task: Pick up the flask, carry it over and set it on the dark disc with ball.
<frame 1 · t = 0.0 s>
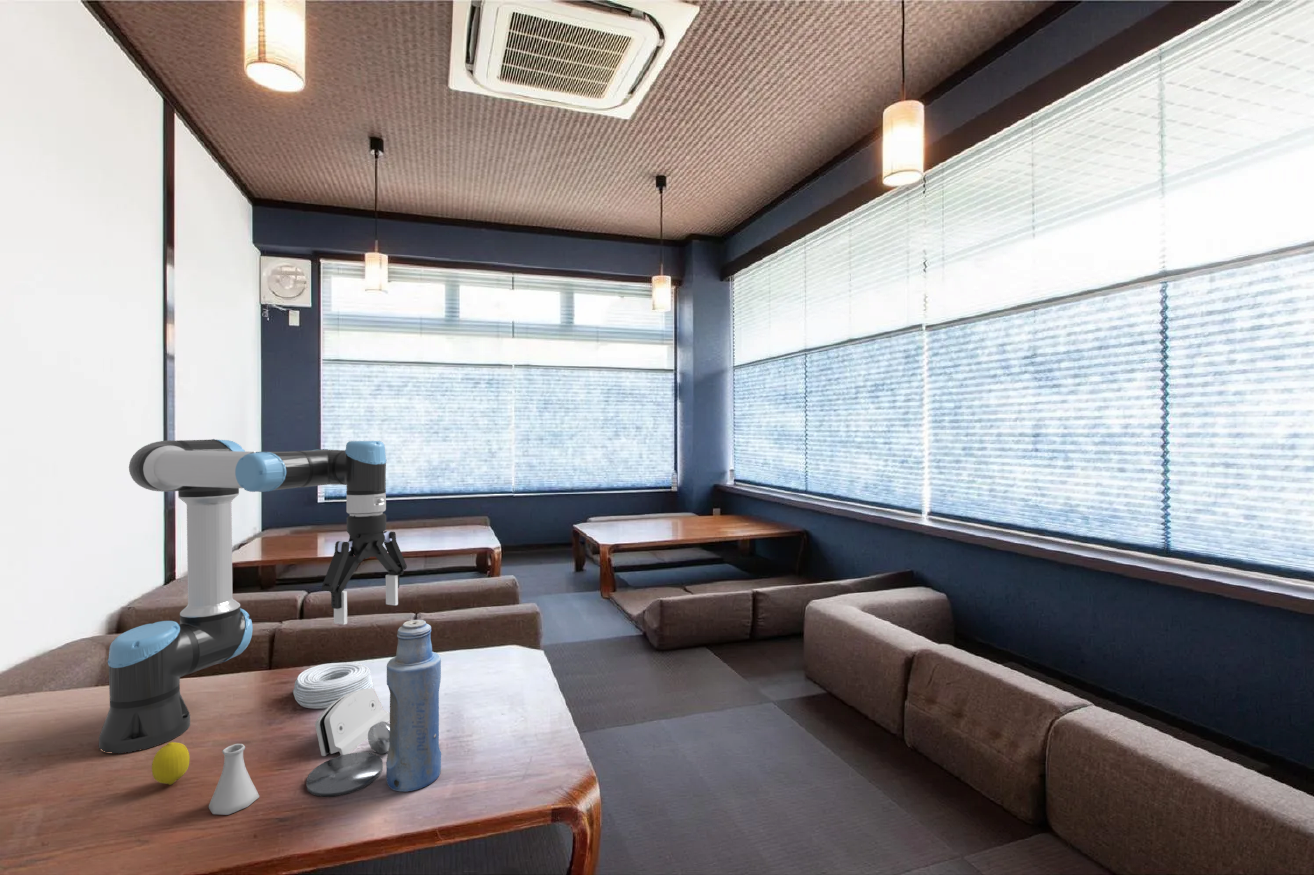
hand: (367, 613, 125), 28 cm above the table, tool pointing down, fingers open, 13 cm apart
flask: (234, 804, 106), on the table
hinge: (353, 737, 129), on the table
cable: (334, 696, 149), on the table
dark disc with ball: (345, 775, 114), on the table
lemon: (171, 785, 111), on the table
bottle: (414, 778, 113), on the table
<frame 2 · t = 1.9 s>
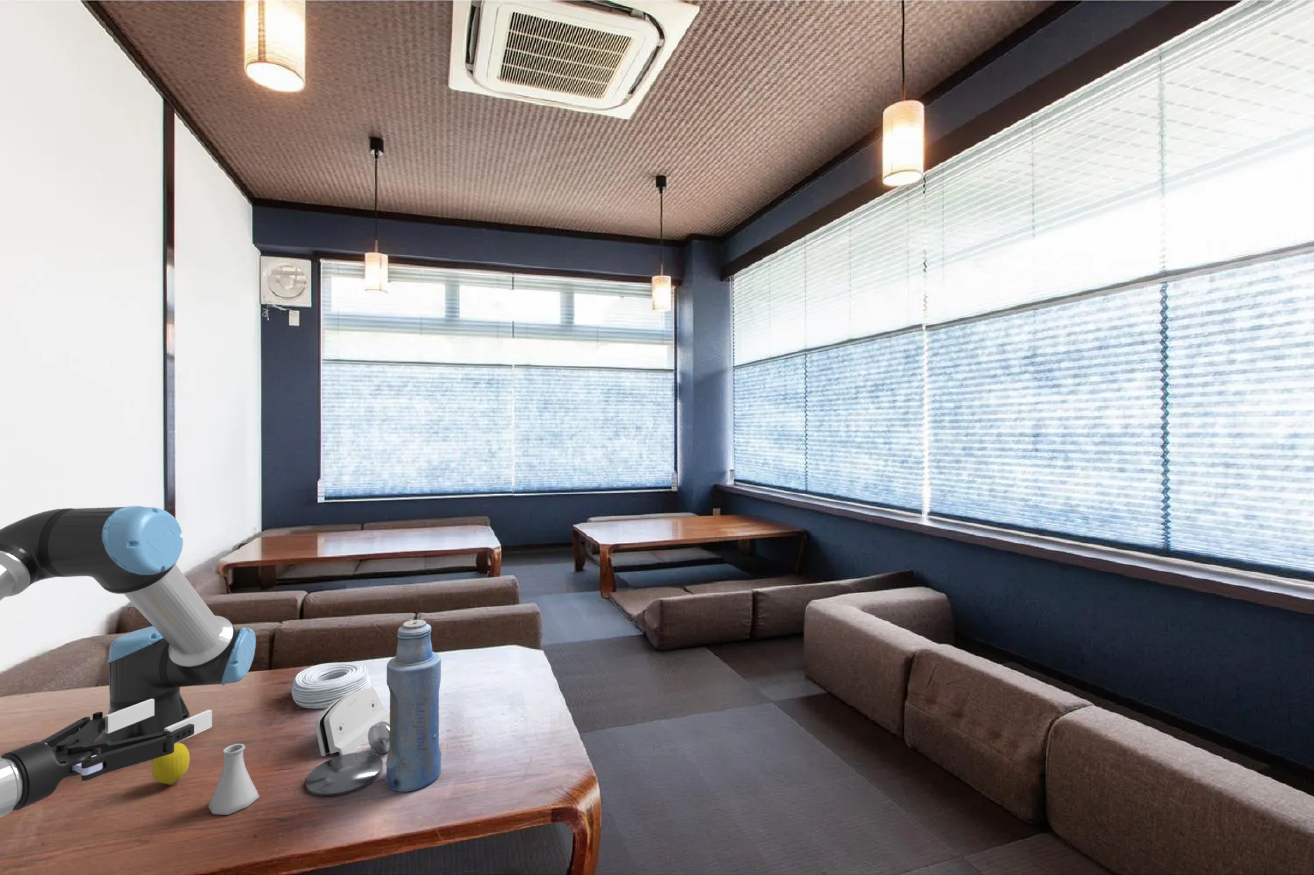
hand: (181, 712, 97), 20 cm above the table, tool horizontal, fingers open, 13 cm apart
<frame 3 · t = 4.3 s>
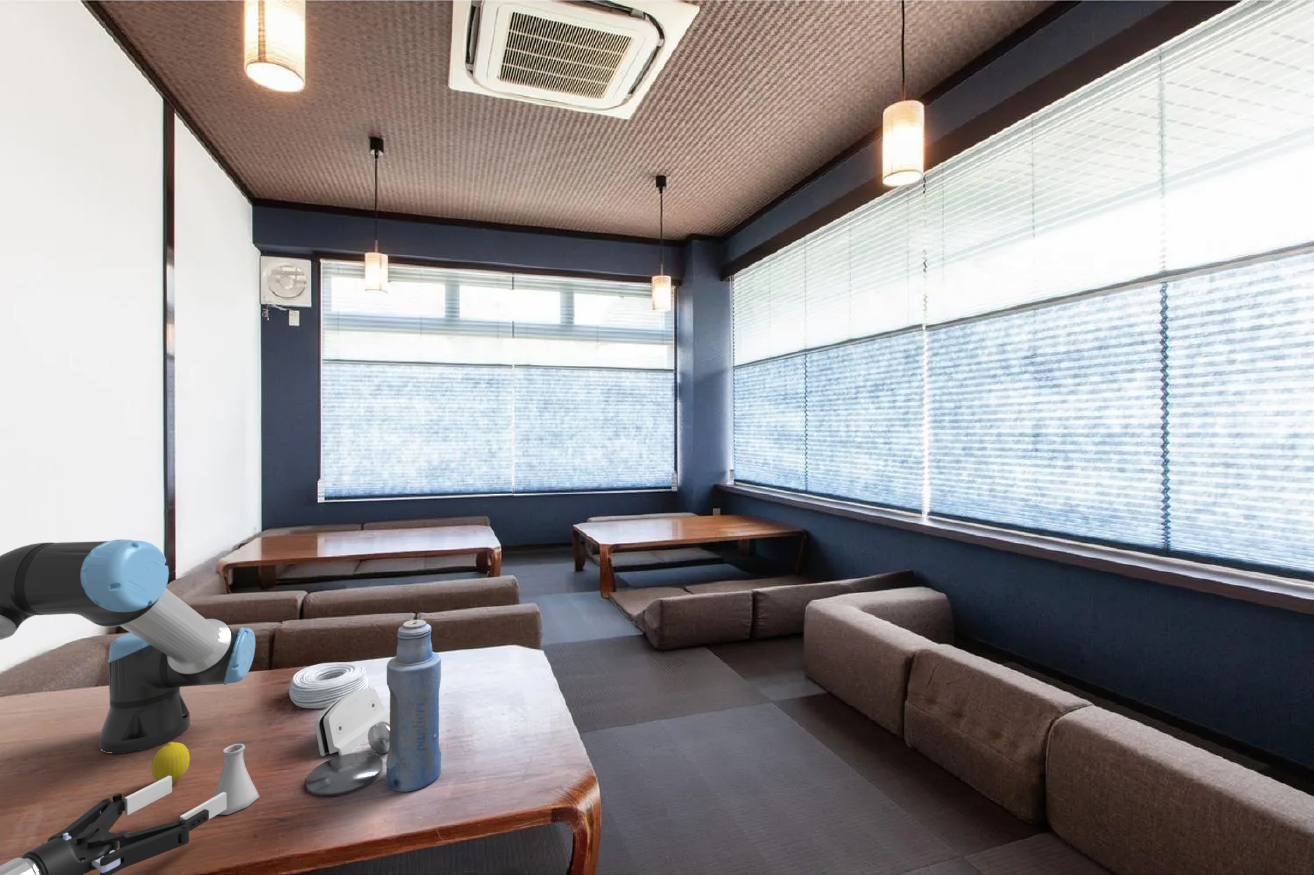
hand: (197, 791, 100), 6 cm above the table, tool horizontal, fingers open, 13 cm apart
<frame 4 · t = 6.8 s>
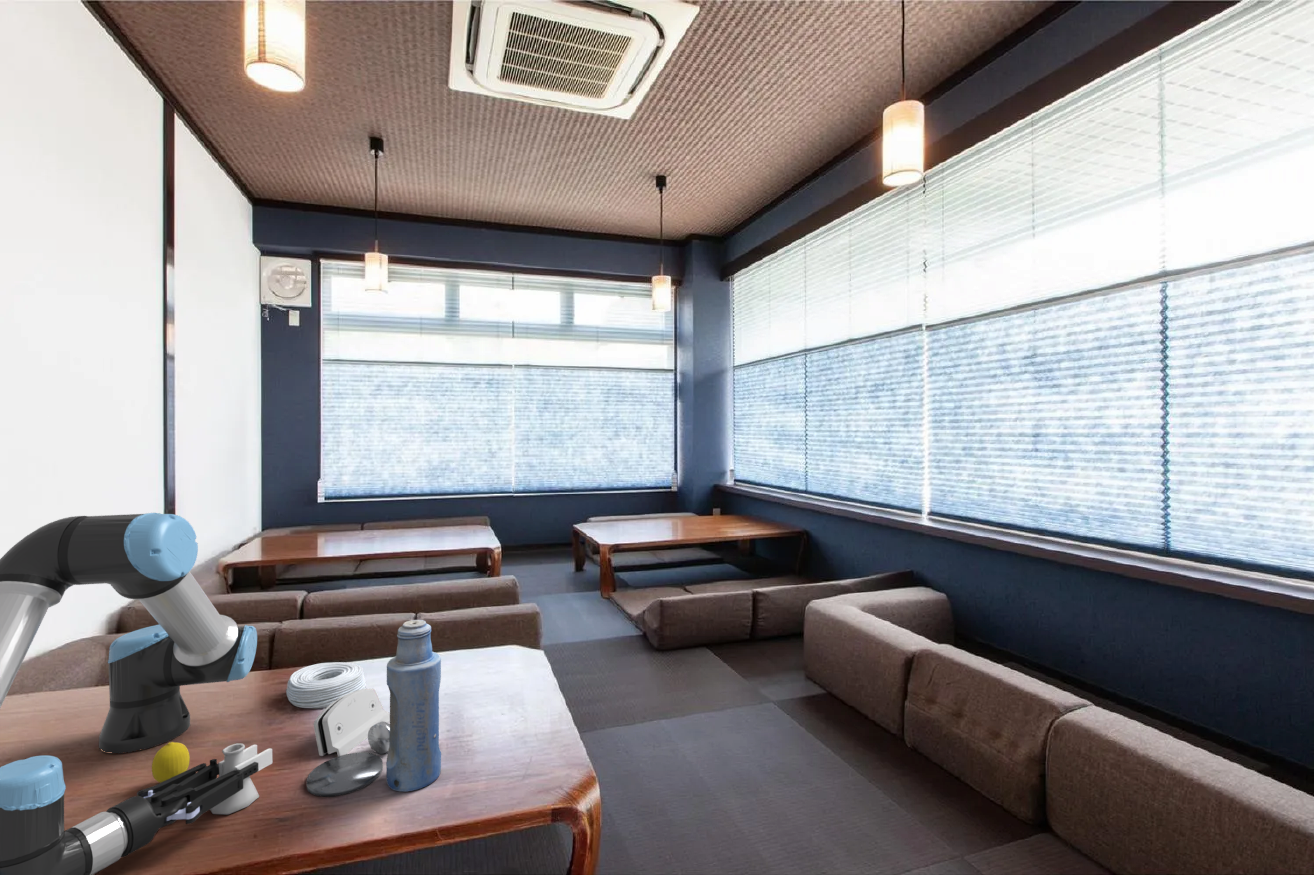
hand: (263, 753, 111), 6 cm above the table, tool horizontal, fingers closed on flask, 3 cm apart
flask: (234, 804, 106), on the table, touching gripper
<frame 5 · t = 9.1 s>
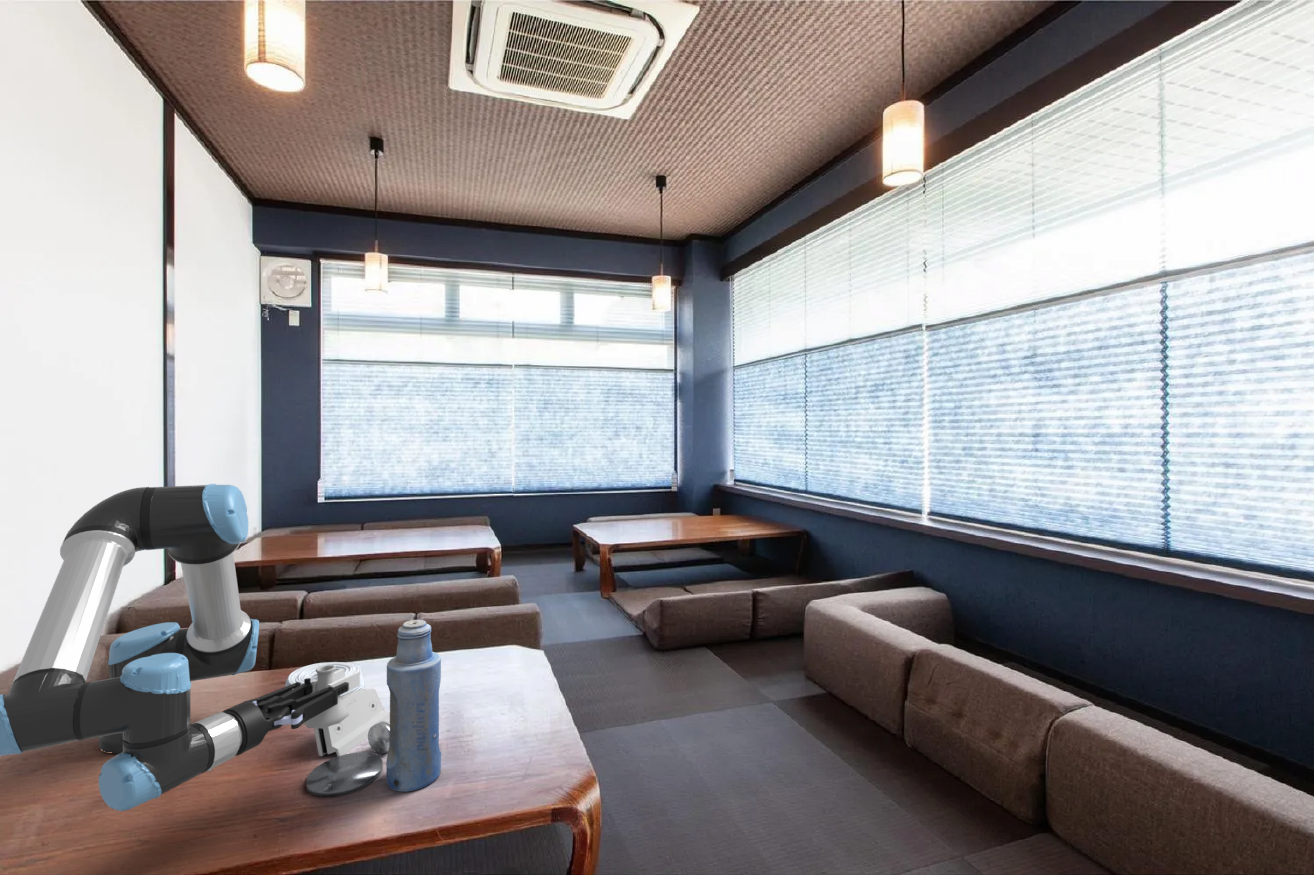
hand: (350, 677, 116), 18 cm above the table, tool horizontal, fingers closed on flask, 3 cm apart
flask: (326, 721, 111), point 12 cm above the table, touching gripper
when the fingers open (8 cm above the table, at t = 11.3 s): flask drops 1 cm, resting on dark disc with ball.
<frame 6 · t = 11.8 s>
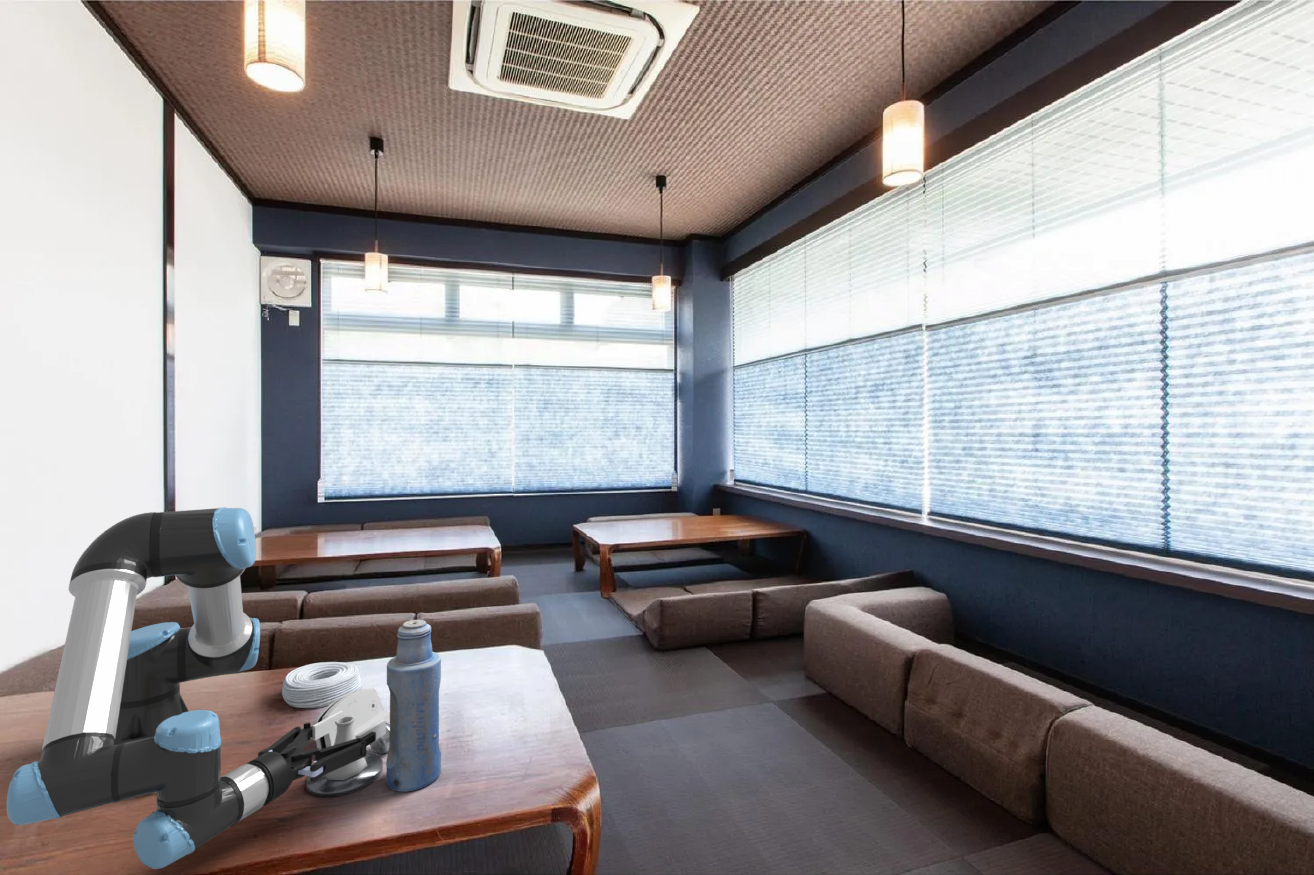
hand: (362, 721, 118), 8 cm above the table, tool horizontal, fingers open, 10 cm apart
flask: (345, 771, 114), point 1 cm above the table, touching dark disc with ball
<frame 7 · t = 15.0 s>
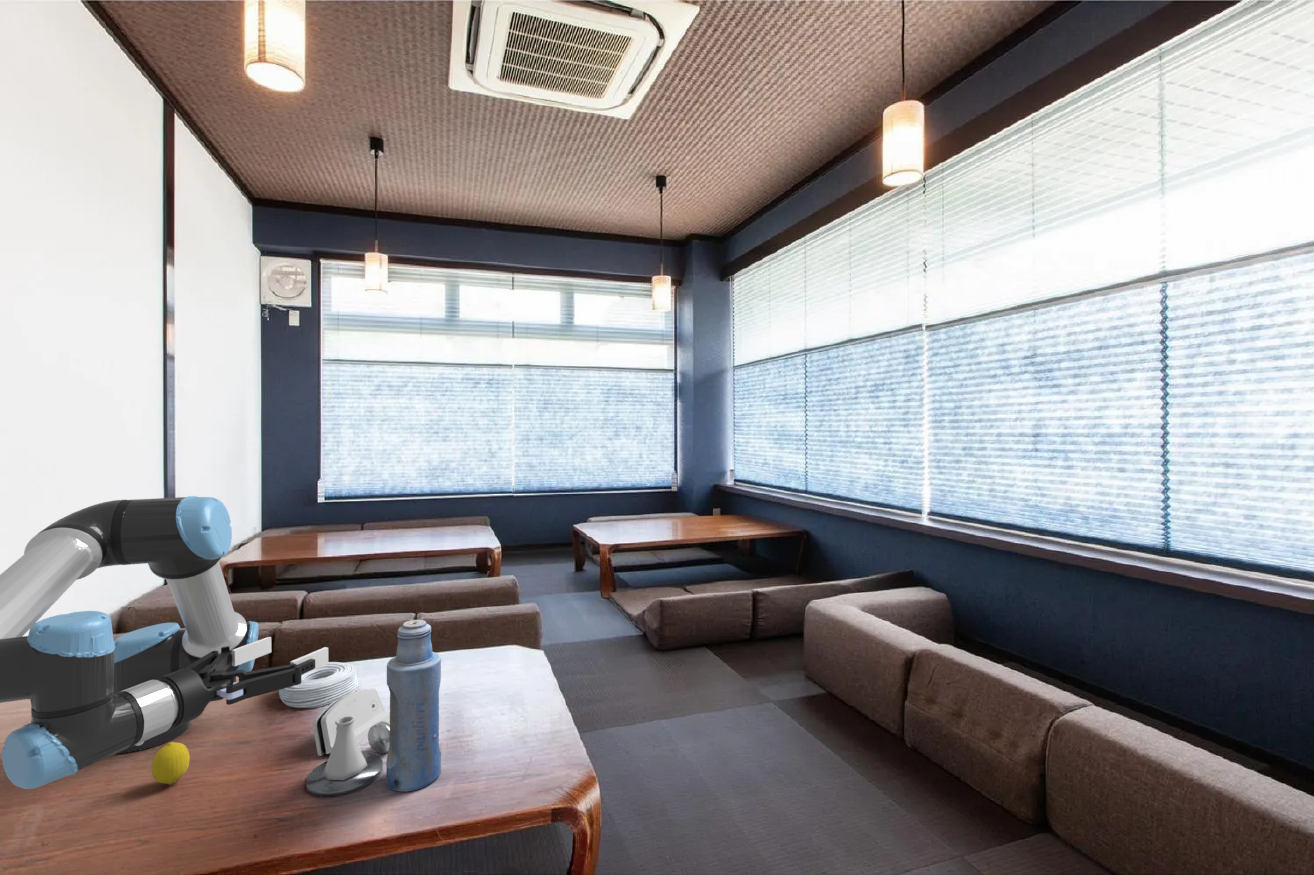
hand: (297, 649, 104), 28 cm above the table, tool horizontal, fingers open, 13 cm apart
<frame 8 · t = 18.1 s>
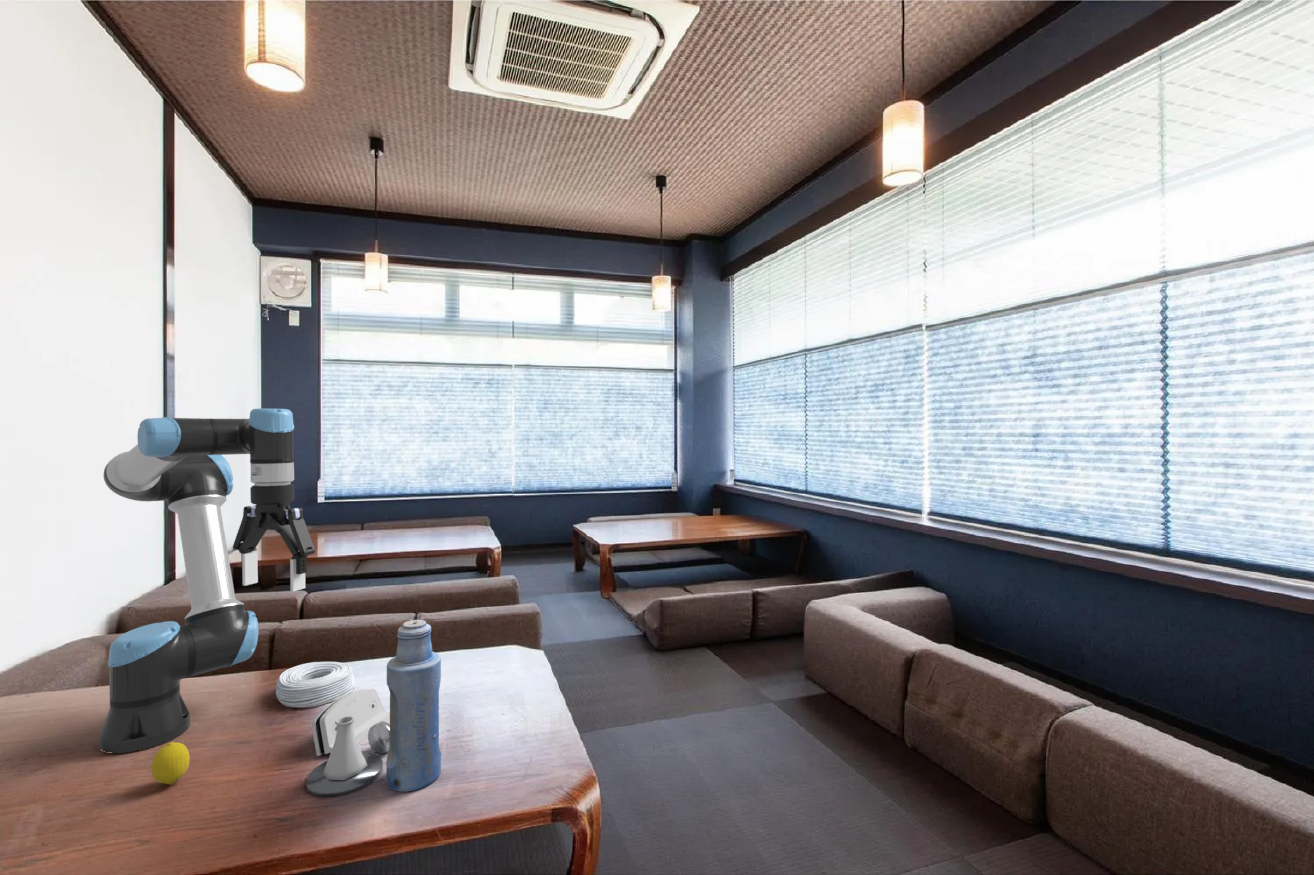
hand: (273, 586, 121), 35 cm above the table, tool pointing down, fingers open, 13 cm apart
at the end: flask 0.1 cm from the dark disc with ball (horizontally); flask tilted 0°; the gripper is holding nothing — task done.
